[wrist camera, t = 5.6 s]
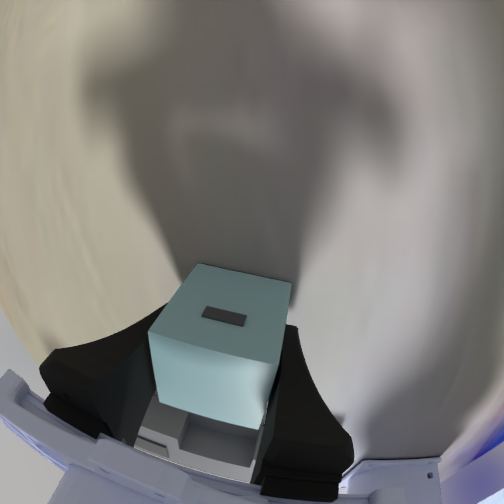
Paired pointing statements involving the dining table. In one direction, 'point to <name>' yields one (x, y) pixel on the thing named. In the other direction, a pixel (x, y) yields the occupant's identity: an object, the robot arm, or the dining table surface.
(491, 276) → the dining table surface
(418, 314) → the dining table surface
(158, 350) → the block
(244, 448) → the power strip
